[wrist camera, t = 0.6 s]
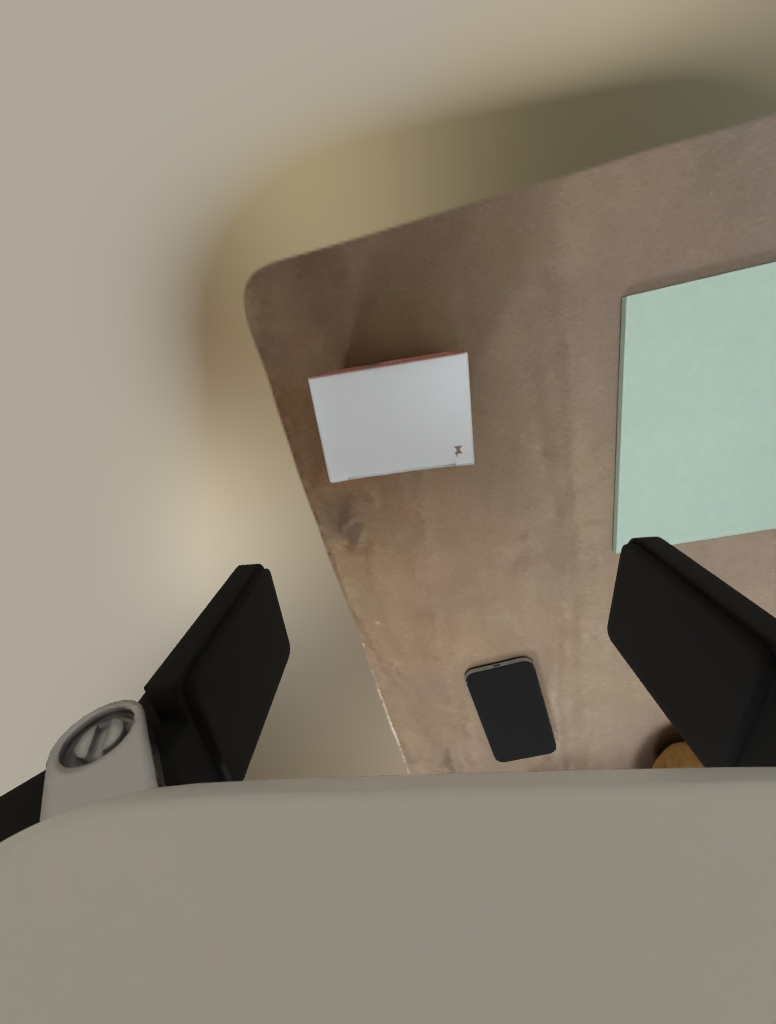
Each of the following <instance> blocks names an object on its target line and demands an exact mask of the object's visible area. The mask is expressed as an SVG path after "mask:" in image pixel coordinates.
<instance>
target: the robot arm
mask: <svg viewBox="0 0 776 1024" xmlns="http://www.w3.org/2000/svg"><path fill="white" fill-rule="evenodd" d="M607 630H608V635H609V638H610V640H611V641H612V643H613V644H614V646H615V647H616V648H617V650H618V651H619V652H620V654H621V655H622V656H623V658H624V659H625V660H626V662H627V663H628V665H629V666H630V667H631V669H632V670H633V671H634V673H635V674H636V675H637V677H638V678H639V679H640V681H641V682H642V684H643V685H644V686H645V688H646V689H647V690H648V692H649V693H650V694H651V696H652V697H653V699H654V700H655V701H656V703H657V704H658V705H659V707H660V708H661V709H662V711H663V712H664V713H665V715H666V716H667V718H668V719H669V720H670V722H671V723H672V724H673V726H674V727H675V728H676V730H677V731H678V733H679V734H680V735H681V737H682V738H683V739H684V741H685V742H686V743H687V745H688V746H689V747H690V749H691V750H692V752H693V753H694V754H695V756H696V757H697V758H698V760H699V761H700V762H701V764H702V765H703V766H704V767H705V768H663V769H616V770H571V771H532V772H493V773H457V774H421V775H390V776H360V777H328V778H298V779H271V780H253V781H243V779H244V777H245V774H246V772H247V769H248V766H249V763H250V761H251V758H252V755H253V752H254V750H255V747H256V745H257V742H258V739H259V736H260V734H261V731H262V728H263V725H264V723H265V720H266V718H267V715H268V712H269V709H270V707H271V704H272V701H273V699H274V696H275V693H276V691H277V688H278V685H279V682H280V680H281V677H282V674H283V672H284V669H285V666H286V664H287V661H288V658H289V654H290V644H289V639H288V636H287V632H286V629H285V625H284V621H283V617H282V613H281V610H280V606H279V603H278V599H277V595H276V591H275V587H274V584H273V580H272V576H271V573H270V571H269V569H264V567H263V566H262V565H261V564H251V565H239V566H238V567H237V568H236V569H235V570H234V572H233V573H232V574H231V575H230V577H229V578H228V579H227V581H226V582H225V584H224V585H223V586H222V587H221V589H220V590H219V591H218V592H217V594H216V595H215V596H214V597H213V599H212V600H211V602H210V603H209V604H208V606H207V607H206V608H205V609H204V610H203V612H202V613H201V614H200V616H199V617H198V618H197V619H196V621H195V622H194V623H193V625H192V626H191V627H190V629H189V630H188V631H187V632H186V634H185V635H184V636H183V638H182V639H181V640H180V642H179V643H178V644H177V645H176V647H175V648H174V649H173V651H172V652H171V653H170V654H169V656H168V657H167V658H166V660H165V661H164V662H163V664H162V665H161V666H160V667H159V669H158V670H157V671H156V673H155V674H154V675H153V676H152V678H151V679H150V680H149V682H148V683H147V684H146V685H145V687H144V689H145V694H144V695H143V696H142V698H141V699H140V700H139V702H136V701H133V700H122V701H117V702H113V703H110V704H108V705H105V706H102V707H100V708H98V709H96V710H94V711H93V712H91V713H89V714H88V715H86V716H84V717H83V718H81V719H80V720H79V721H78V722H76V723H75V724H74V725H72V726H71V727H70V728H69V729H68V730H67V731H66V732H65V733H64V734H63V735H62V736H61V737H60V738H59V739H58V741H57V742H56V744H55V745H54V747H53V748H52V750H51V751H50V754H49V757H48V760H47V763H46V770H45V771H43V772H41V773H40V774H38V775H36V776H35V777H33V778H31V779H30V780H28V781H26V782H25V783H23V784H22V785H19V786H18V787H16V788H14V789H13V790H11V791H9V792H8V793H6V794H4V795H3V796H1V797H0V1024H776V618H775V617H773V616H772V615H770V614H769V613H768V612H766V611H765V610H763V609H762V608H760V607H759V606H758V605H756V604H755V603H753V602H752V601H751V600H749V599H748V598H746V597H745V596H743V595H742V594H741V593H739V592H738V591H736V590H735V589H733V588H732V587H731V586H729V585H728V584H726V583H725V582H723V581H722V580H721V579H719V578H718V577H716V576H715V575H713V574H712V573H711V572H709V571H708V570H706V569H705V568H703V567H702V566H701V565H699V564H698V563H696V562H695V561H694V560H692V559H691V558H689V557H688V556H686V555H685V554H684V553H682V552H681V551H679V550H678V549H676V548H675V547H674V546H672V545H671V544H669V543H668V542H666V541H665V540H664V539H662V538H660V537H656V536H654V537H640V538H632V539H630V541H629V542H628V544H625V545H623V547H622V549H621V554H620V560H619V565H618V571H617V576H616V582H615V587H614V593H613V598H612V604H611V609H610V615H609V620H608V627H607Z"/></svg>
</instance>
